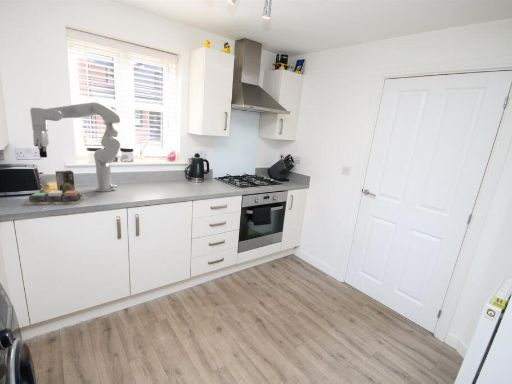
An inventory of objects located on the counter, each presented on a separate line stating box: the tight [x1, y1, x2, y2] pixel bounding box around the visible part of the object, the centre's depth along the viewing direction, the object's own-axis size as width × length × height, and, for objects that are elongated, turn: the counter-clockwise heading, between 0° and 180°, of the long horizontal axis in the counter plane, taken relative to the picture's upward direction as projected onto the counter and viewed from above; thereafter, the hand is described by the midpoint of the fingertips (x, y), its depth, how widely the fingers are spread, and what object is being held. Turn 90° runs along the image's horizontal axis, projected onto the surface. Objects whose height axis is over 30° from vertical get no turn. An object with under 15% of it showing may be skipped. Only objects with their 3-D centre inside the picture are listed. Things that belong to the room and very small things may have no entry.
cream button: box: [48, 190, 63, 196], centre depth 167 cm, size 6×6×4 cm
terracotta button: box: [64, 190, 79, 196], centre depth 170 cm, size 6×6×4 cm
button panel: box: [25, 192, 84, 205], centre depth 168 cm, size 27×11×4 cm, turn 110°
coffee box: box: [55, 170, 76, 193], centre depth 185 cm, size 9×6×16 cm
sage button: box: [31, 192, 47, 196], centre depth 165 cm, size 6×6×4 cm
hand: (43, 157), depth 169 cm, fingers closed
